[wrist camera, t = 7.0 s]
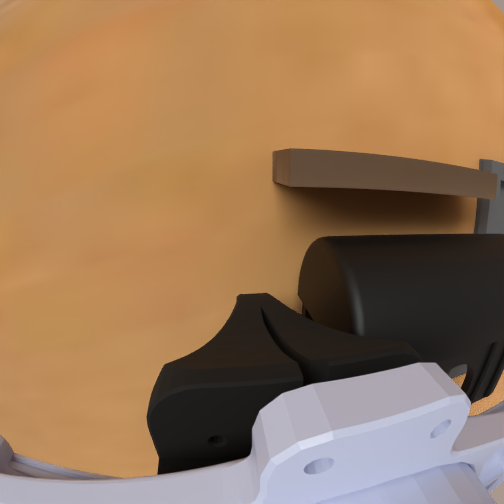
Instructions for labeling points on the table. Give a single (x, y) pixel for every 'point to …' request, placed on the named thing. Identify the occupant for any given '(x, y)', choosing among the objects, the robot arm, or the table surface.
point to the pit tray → (487, 221)
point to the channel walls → (379, 173)
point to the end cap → (415, 296)
